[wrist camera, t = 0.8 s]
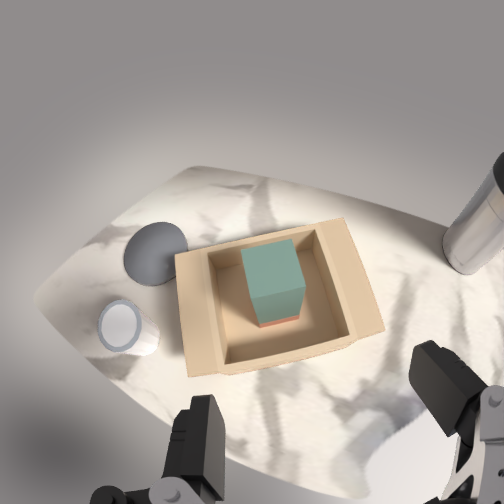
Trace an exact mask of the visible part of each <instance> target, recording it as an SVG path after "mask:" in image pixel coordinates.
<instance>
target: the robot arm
mask: <svg viewBox="0 0 504 504" xmlns="http://www.w3.org/2000/svg"><path fill="white" fill-rule="evenodd" d="M503 248H504V152H503V153H502V154H501V155H500V156H499V157H498V159H497V160H496V162H495V164H494V166H493V167H492V169H491V170H490V172H489V173H488V175H487V176H486V178H485V180H484V181H483V183H482V184H481V186H480V187H479V189H478V190H477V191H476V193H475V194H474V196H473V197H472V199H471V200H470V201H469V203H468V204H467V205H466V207H465V208H464V209H463V211H462V212H461V213H460V215H459V216H458V217H457V219H456V220H455V221H454V222H453V224H452V225H451V226H450V227H449V229H448V230H447V231H446V233H445V234H444V237H443V250H444V253H445V256H446V258H447V260H448V261H449V263H450V264H451V265H452V267H453V268H454V269H456V270H457V271H458V272H460V273H462V274H465V275H471V274H474V273H475V272H477V271H478V270H479V269H480V268H482V267H483V266H484V265H485V264H486V263H488V262H489V261H490V260H491V259H492V258H493V257H494V256H496V255H497V254H498V253H499V252H500V251H501V250H502V249H503ZM409 381H410V384H411V386H412V387H413V389H414V390H415V392H416V393H417V394H418V396H419V397H420V398H421V400H422V401H423V403H424V404H425V405H426V407H427V408H428V410H429V411H430V413H431V414H432V415H433V417H434V418H435V419H436V421H437V423H438V424H439V425H440V427H441V428H442V430H443V431H444V433H445V434H446V436H447V437H450V436H451V435H453V434H455V433H456V432H457V433H458V434H459V437H458V439H457V445H456V452H455V458H454V463H453V469H452V473H451V477H450V480H449V482H448V484H447V486H446V488H445V490H444V492H443V495H442V498H441V500H439V499H438V497H435V498H434V499H431V500H430V501H428V502H426V503H425V504H504V387H502V386H498V385H493V386H487V385H486V384H485V383H484V382H483V381H482V380H481V379H480V378H479V377H478V375H477V374H476V373H475V372H474V371H473V370H472V369H471V368H470V367H469V366H466V364H465V363H464V362H463V361H462V360H460V358H459V357H458V356H457V355H456V354H455V353H454V352H453V351H451V350H449V349H446V348H444V347H442V348H440V347H439V346H438V345H437V344H436V343H435V342H434V341H432V340H429V341H426V342H424V343H422V344H419V345H417V346H415V347H414V349H413V354H412V359H411V365H410V370H409ZM224 479H225V424H224V420H223V417H222V415H221V412H220V410H219V407H218V405H217V403H216V400H215V398H214V396H213V395H212V394H211V395H200V396H193V397H192V400H191V405H190V409H188V410H181V411H180V412H179V414H178V415H177V417H176V418H175V419H174V423H173V427H172V433H171V437H170V442H169V446H168V452H167V456H166V462H165V467H164V472H163V475H162V477H161V479H159V480H158V481H156V482H155V483H154V484H153V485H152V486H151V488H148V489H144V490H138V491H131V492H123V491H121V490H120V489H118V488H117V487H114V486H102V487H100V488H98V489H97V490H95V492H94V493H93V494H92V497H91V500H90V504H215V501H224Z"/></svg>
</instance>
